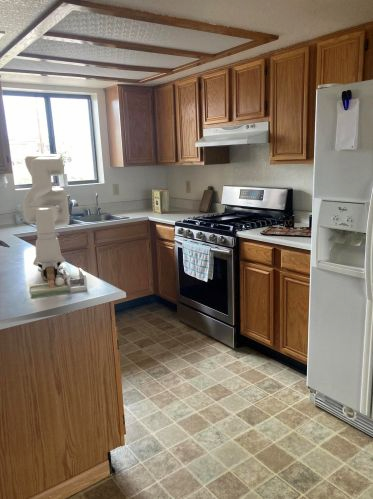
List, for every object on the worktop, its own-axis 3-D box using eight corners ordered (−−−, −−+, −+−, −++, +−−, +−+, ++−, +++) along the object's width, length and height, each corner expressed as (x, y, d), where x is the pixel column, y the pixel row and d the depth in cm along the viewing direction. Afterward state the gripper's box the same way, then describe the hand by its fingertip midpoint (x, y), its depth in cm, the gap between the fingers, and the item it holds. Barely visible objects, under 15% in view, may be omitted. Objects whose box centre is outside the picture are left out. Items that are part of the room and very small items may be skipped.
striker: (47, 285, 182) (45, 265, 180) (54, 284, 183) (52, 265, 181) (48, 289, 177) (46, 268, 175) (55, 288, 178) (53, 268, 176)
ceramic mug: (40, 282, 194) (39, 266, 192) (43, 277, 202) (42, 262, 200) (64, 280, 196) (62, 265, 194) (65, 276, 204) (64, 261, 202)
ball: (52, 283, 182) (56, 275, 182) (61, 286, 184) (64, 278, 183) (53, 285, 178) (57, 277, 178) (62, 288, 180) (65, 280, 180)
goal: (64, 284, 189) (62, 267, 187) (81, 282, 192) (80, 265, 190) (68, 293, 176) (66, 275, 175) (87, 290, 179) (85, 272, 178)
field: (30, 289, 183) (29, 284, 182) (64, 284, 188) (64, 280, 188) (31, 297, 171) (31, 292, 171) (68, 292, 177) (67, 287, 176)
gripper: (65, 233, 181) (69, 273, 185) (26, 236, 176) (30, 277, 179) (67, 236, 175) (70, 277, 178) (26, 239, 169) (31, 282, 173)
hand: (50, 277), depth 179 cm, fingers closed on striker, 3 cm apart
